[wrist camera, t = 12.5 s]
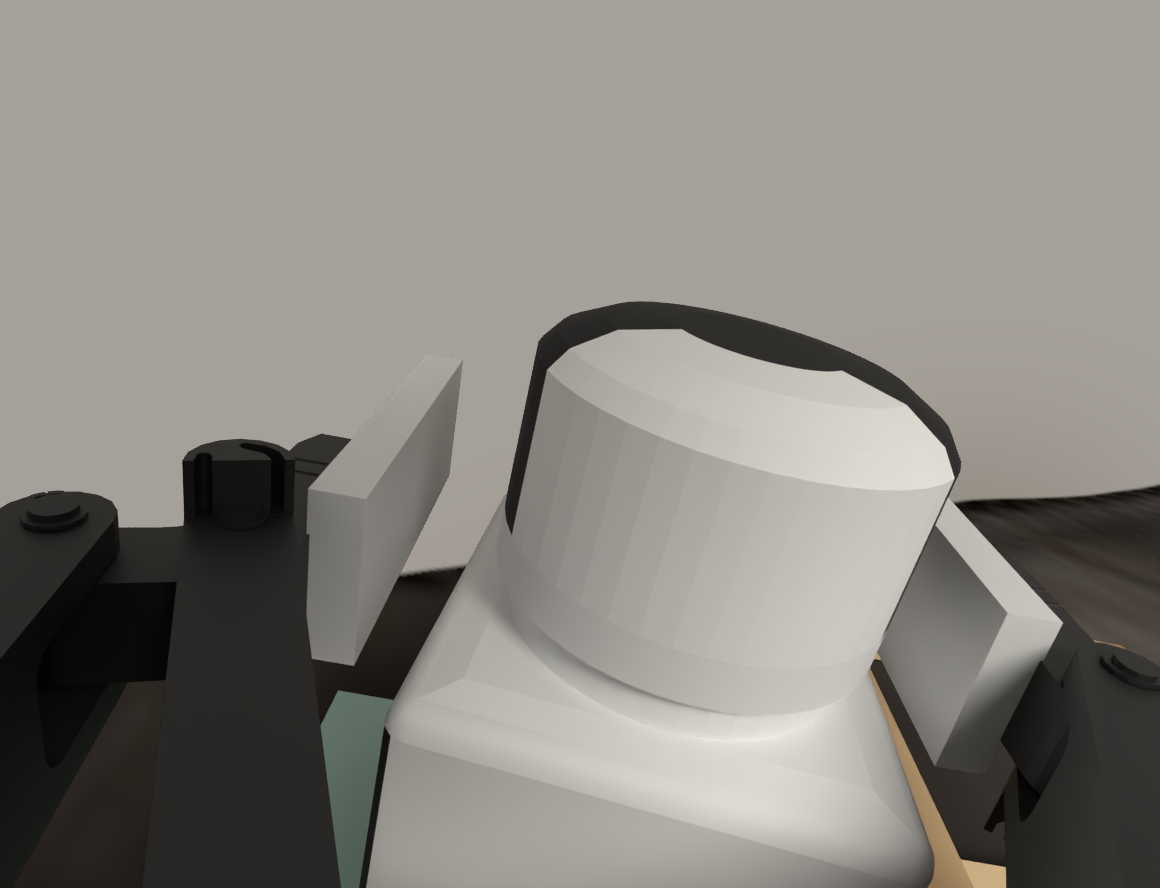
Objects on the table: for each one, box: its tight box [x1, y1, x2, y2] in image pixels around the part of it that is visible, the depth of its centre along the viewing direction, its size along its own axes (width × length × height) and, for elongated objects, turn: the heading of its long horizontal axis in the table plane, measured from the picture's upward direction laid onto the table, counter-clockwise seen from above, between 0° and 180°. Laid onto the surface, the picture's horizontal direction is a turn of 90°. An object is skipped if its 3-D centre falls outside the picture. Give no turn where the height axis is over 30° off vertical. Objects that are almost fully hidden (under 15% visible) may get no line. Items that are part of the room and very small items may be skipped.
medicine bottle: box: [359, 302, 961, 888], centre depth 13 cm, size 7×7×12 cm
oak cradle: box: [869, 641, 1125, 888], centre depth 22 cm, size 12×12×2 cm
